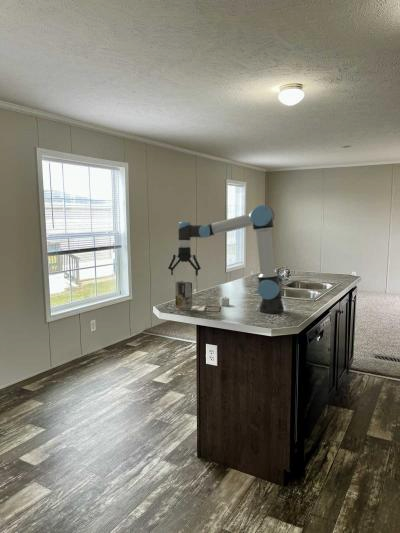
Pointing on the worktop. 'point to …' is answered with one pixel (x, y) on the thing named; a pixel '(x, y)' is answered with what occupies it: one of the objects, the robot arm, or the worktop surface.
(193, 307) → the board
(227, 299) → the die
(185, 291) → the coffee box
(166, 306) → the worktop surface
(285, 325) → the worktop surface
